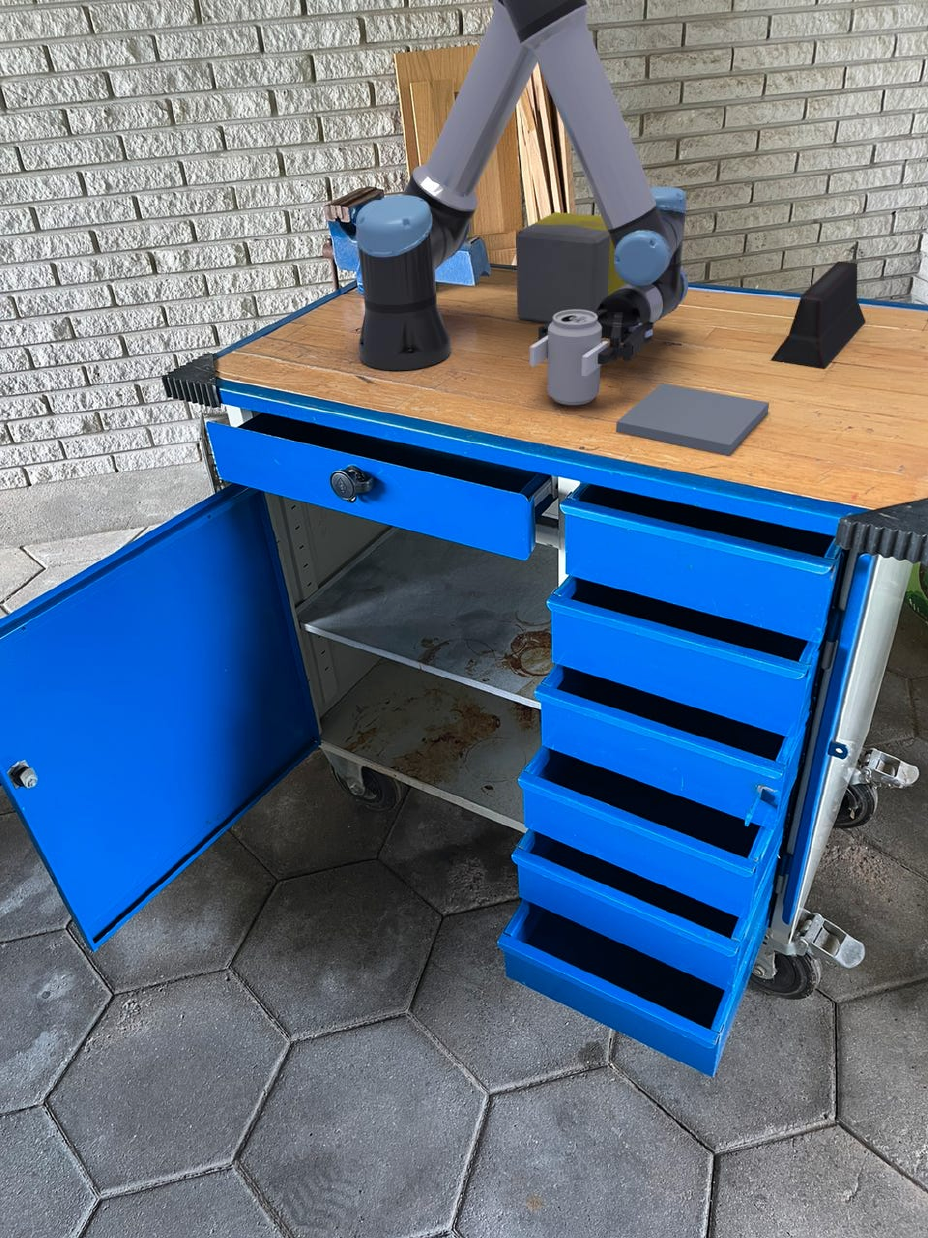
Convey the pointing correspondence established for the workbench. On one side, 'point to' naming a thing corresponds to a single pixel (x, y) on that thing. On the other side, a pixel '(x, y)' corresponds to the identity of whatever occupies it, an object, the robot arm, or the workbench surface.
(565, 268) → the emergency stop button
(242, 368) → the workbench surface
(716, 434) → the slate board
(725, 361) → the workbench surface
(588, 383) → the can
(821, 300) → the barrier
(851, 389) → the workbench surface
